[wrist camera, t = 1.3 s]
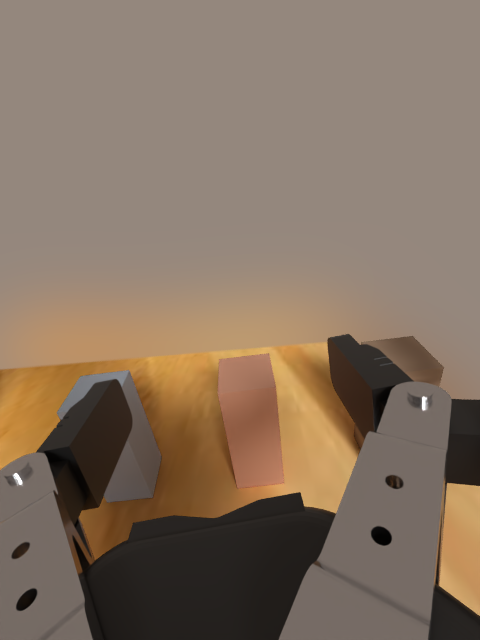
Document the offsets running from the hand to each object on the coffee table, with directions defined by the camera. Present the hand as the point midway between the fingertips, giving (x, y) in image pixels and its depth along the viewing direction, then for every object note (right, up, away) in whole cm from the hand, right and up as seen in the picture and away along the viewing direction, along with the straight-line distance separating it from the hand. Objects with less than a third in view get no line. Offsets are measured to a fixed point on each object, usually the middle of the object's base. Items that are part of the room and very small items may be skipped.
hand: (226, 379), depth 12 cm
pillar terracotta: (+2, -13, +20) cm, 23 cm away
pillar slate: (-10, -14, +20) cm, 27 cm away
